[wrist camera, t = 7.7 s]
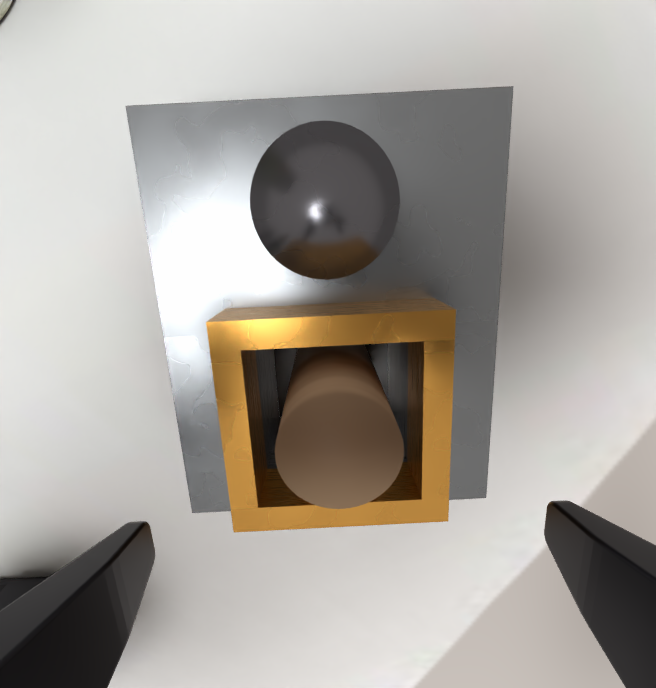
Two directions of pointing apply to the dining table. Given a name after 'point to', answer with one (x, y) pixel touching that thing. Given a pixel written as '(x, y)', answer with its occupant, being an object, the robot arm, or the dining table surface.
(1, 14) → the coffee can
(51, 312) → the dining table surface
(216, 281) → the grey block with socket
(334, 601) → the dining table surface
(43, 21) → the dining table surface
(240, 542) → the dining table surface
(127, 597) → the robot arm
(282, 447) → the wooden plug
